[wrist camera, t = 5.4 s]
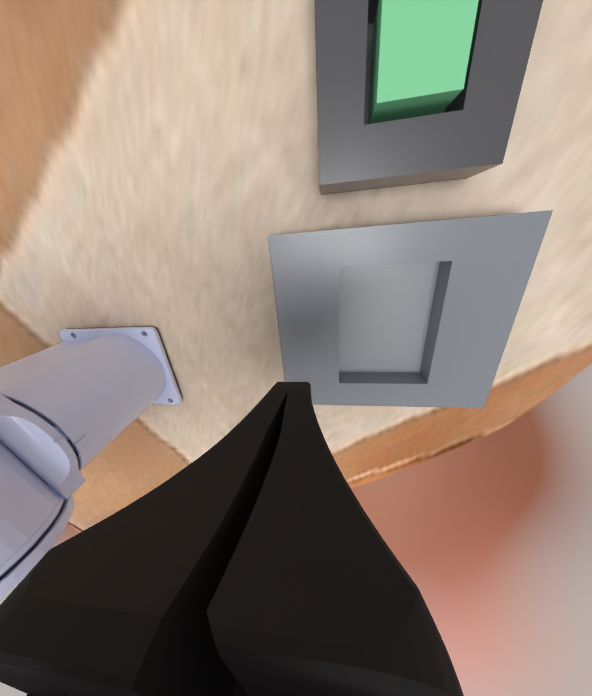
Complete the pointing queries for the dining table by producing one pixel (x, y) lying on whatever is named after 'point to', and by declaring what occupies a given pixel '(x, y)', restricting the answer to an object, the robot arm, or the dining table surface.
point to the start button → (419, 56)
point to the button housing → (424, 131)
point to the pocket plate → (402, 307)
